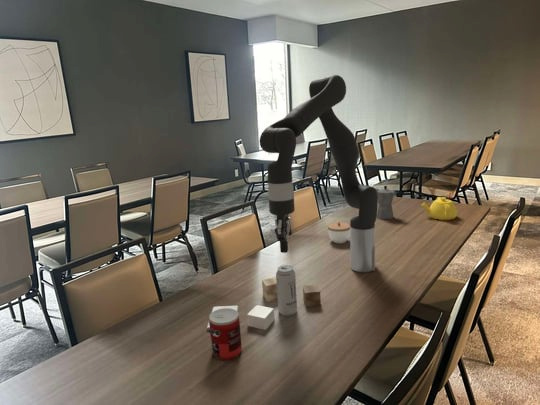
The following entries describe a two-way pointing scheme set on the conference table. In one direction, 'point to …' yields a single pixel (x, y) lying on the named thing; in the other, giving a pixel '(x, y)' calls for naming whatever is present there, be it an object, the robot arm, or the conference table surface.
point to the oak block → (269, 289)
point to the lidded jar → (339, 232)
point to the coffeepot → (385, 203)
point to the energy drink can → (286, 290)
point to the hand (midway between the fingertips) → (284, 251)
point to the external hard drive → (222, 308)
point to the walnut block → (311, 295)
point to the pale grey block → (260, 317)
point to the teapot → (441, 209)
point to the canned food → (225, 333)
